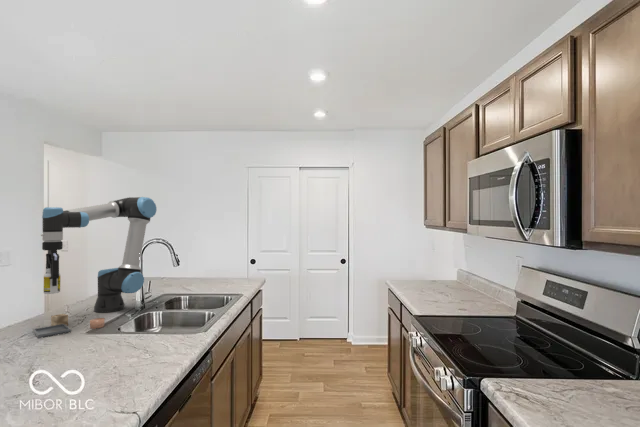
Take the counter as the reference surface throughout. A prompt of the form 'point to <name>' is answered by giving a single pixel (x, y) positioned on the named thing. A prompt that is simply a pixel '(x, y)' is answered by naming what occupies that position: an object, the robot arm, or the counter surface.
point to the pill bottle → (47, 282)
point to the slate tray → (51, 330)
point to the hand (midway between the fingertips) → (52, 291)
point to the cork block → (59, 319)
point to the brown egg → (97, 323)
